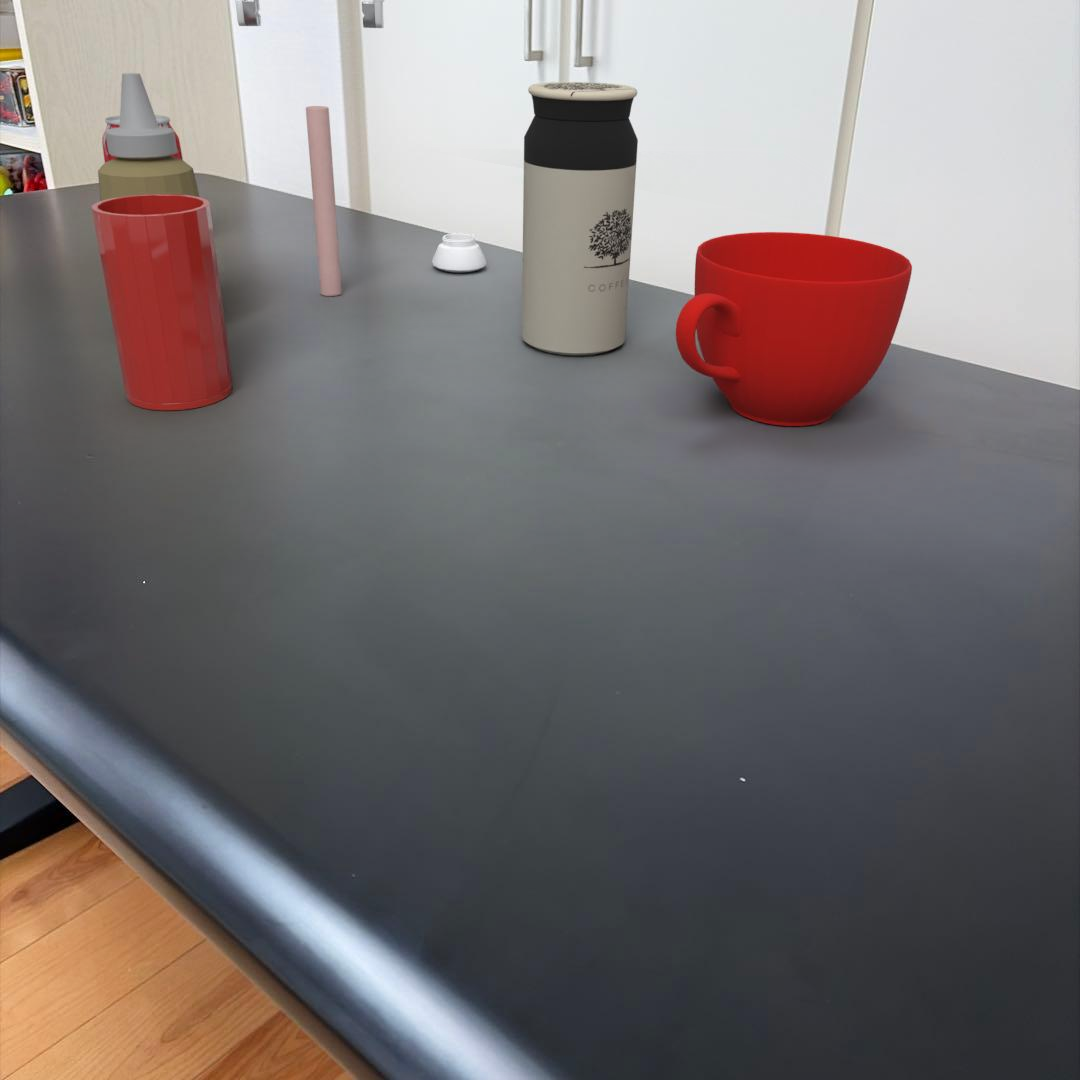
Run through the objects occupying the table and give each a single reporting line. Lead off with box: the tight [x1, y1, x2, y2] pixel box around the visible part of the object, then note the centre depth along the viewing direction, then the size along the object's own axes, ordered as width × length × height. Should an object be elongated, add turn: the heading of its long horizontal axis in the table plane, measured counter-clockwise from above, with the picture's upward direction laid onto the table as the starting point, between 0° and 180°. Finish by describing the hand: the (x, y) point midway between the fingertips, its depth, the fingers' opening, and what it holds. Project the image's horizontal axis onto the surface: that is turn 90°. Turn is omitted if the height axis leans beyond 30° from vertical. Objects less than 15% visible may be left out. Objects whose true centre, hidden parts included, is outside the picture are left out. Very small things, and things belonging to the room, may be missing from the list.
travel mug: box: [521, 81, 639, 357], centre depth 75 cm, size 8×8×18 cm
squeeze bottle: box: [97, 72, 200, 202], centre depth 76 cm, size 8×8×18 cm
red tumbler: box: [91, 194, 234, 412], centre depth 65 cm, size 7×7×12 cm
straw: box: [305, 105, 343, 297], centre depth 86 cm, size 2×2×15 cm
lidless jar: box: [431, 232, 487, 274], centre depth 97 cm, size 5×3×5 cm
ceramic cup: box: [675, 231, 913, 427], centre depth 64 cm, size 13×17×10 cm
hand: (312, 26), depth 79 cm, fingers open, 8 cm apart
